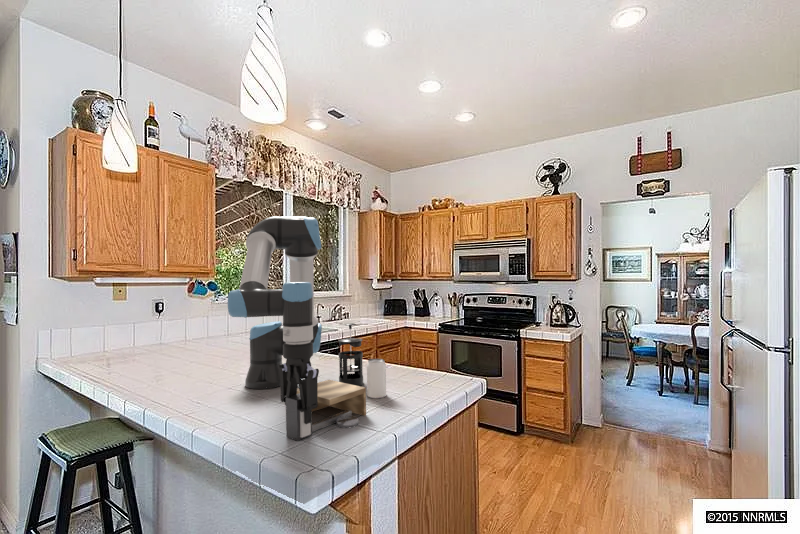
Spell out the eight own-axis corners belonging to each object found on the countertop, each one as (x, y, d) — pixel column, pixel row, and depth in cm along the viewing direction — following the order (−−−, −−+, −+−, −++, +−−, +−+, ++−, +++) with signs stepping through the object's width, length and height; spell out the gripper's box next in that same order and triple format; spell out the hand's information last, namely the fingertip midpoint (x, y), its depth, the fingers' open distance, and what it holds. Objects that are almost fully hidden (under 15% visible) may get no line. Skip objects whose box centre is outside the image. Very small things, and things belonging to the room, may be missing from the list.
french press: (355, 390, 144) (354, 325, 145) (332, 387, 148) (331, 324, 148) (370, 382, 155) (369, 322, 156) (348, 379, 159) (347, 321, 159)
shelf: (292, 417, 117) (292, 389, 117) (329, 404, 128) (328, 379, 128) (330, 429, 107) (329, 399, 108) (366, 415, 118) (365, 387, 118)
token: (332, 425, 111) (331, 420, 111) (348, 418, 116) (347, 414, 116) (346, 430, 107) (346, 424, 108) (362, 423, 112) (362, 418, 112)
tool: (286, 436, 103) (285, 397, 103) (344, 414, 119) (344, 379, 119) (297, 440, 100) (296, 400, 100) (355, 417, 116) (355, 382, 117)
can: (383, 399, 133) (383, 362, 134) (364, 398, 135) (364, 362, 135) (388, 393, 140) (387, 358, 140) (370, 392, 141) (369, 358, 141)
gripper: (265, 340, 106) (266, 430, 106) (308, 347, 95) (309, 446, 95) (289, 337, 112) (290, 421, 112) (332, 342, 101) (333, 436, 101)
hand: (299, 433), depth 103 cm, fingers closed on tool, 4 cm apart
